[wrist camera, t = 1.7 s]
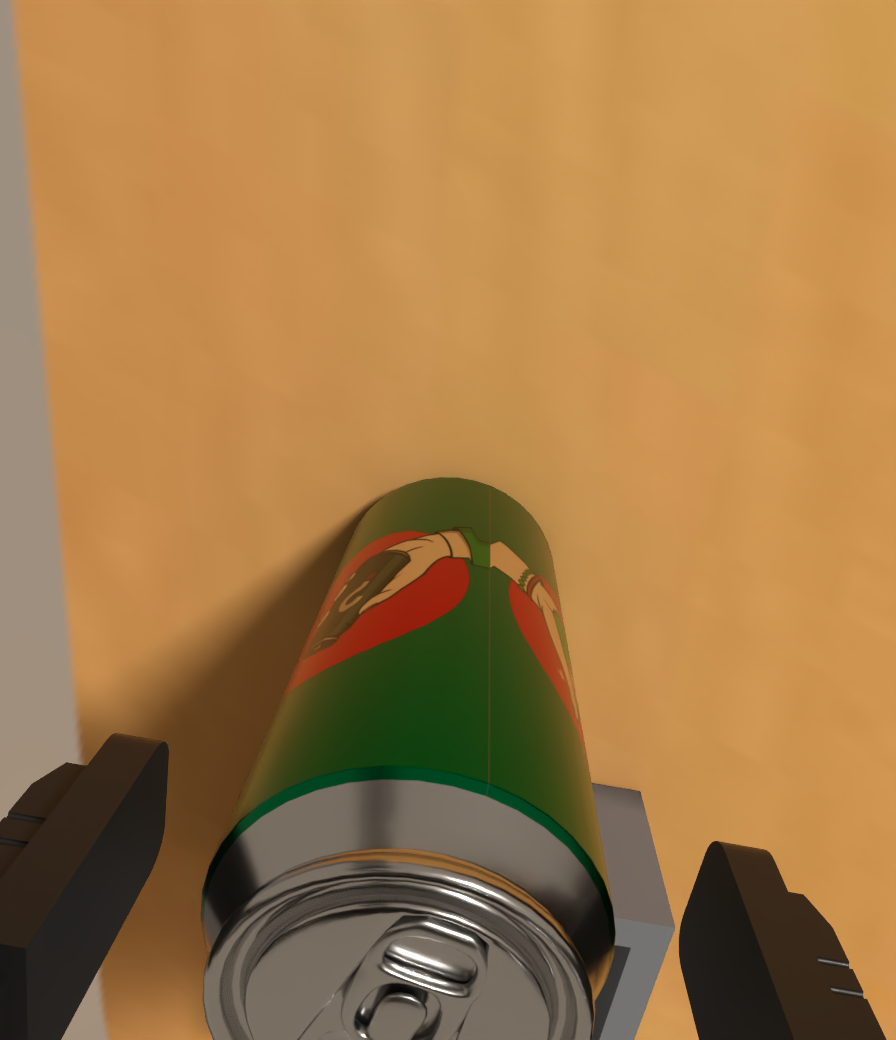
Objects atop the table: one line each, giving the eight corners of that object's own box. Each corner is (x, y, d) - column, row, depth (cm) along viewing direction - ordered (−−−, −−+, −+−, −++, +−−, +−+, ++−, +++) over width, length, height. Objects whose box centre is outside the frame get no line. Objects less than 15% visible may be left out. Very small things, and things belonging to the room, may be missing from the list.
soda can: (321, 612, 21) (117, 1091, 9) (391, 436, 19) (243, 768, 8) (502, 682, 21) (513, 1217, 10) (587, 517, 19) (719, 943, 8)
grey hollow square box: (332, 738, 22) (294, 862, 18) (640, 791, 22) (675, 927, 18) (301, 962, 25) (262, 1114, 21) (571, 1008, 25) (586, 1167, 21)
